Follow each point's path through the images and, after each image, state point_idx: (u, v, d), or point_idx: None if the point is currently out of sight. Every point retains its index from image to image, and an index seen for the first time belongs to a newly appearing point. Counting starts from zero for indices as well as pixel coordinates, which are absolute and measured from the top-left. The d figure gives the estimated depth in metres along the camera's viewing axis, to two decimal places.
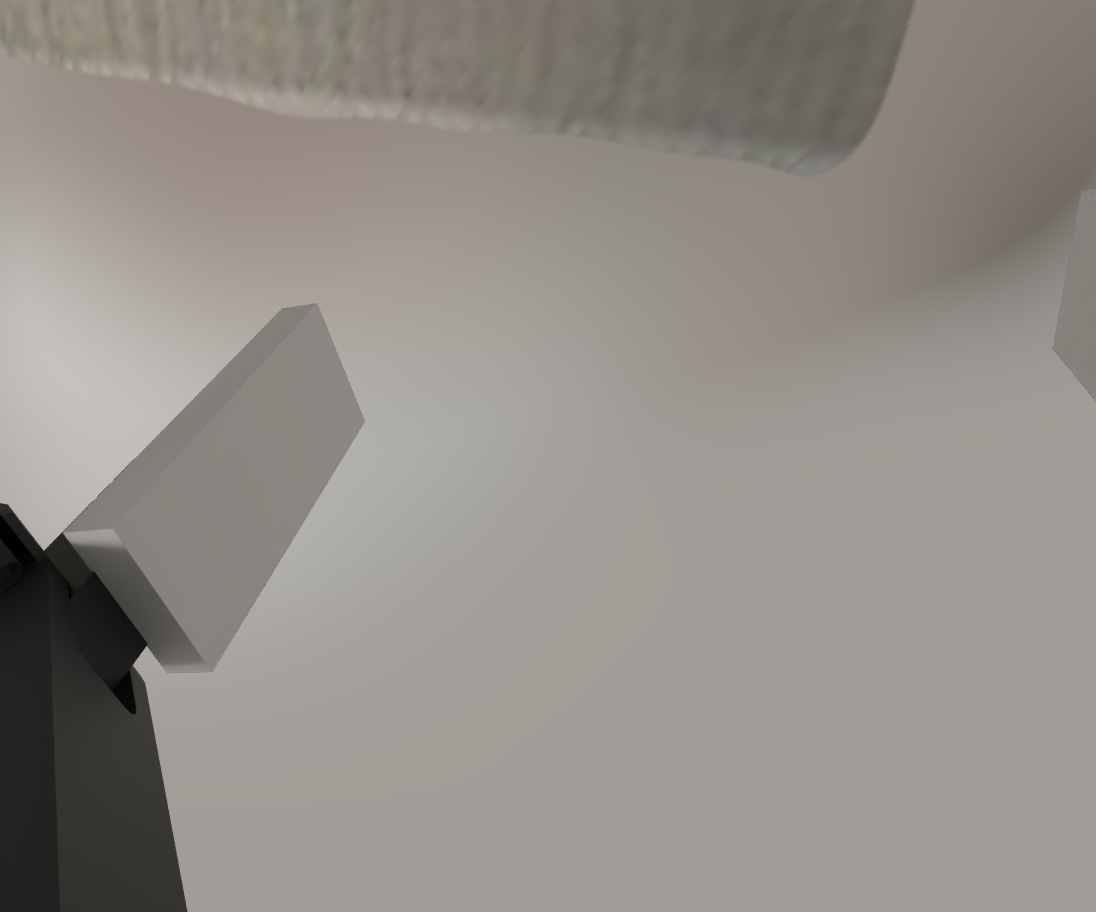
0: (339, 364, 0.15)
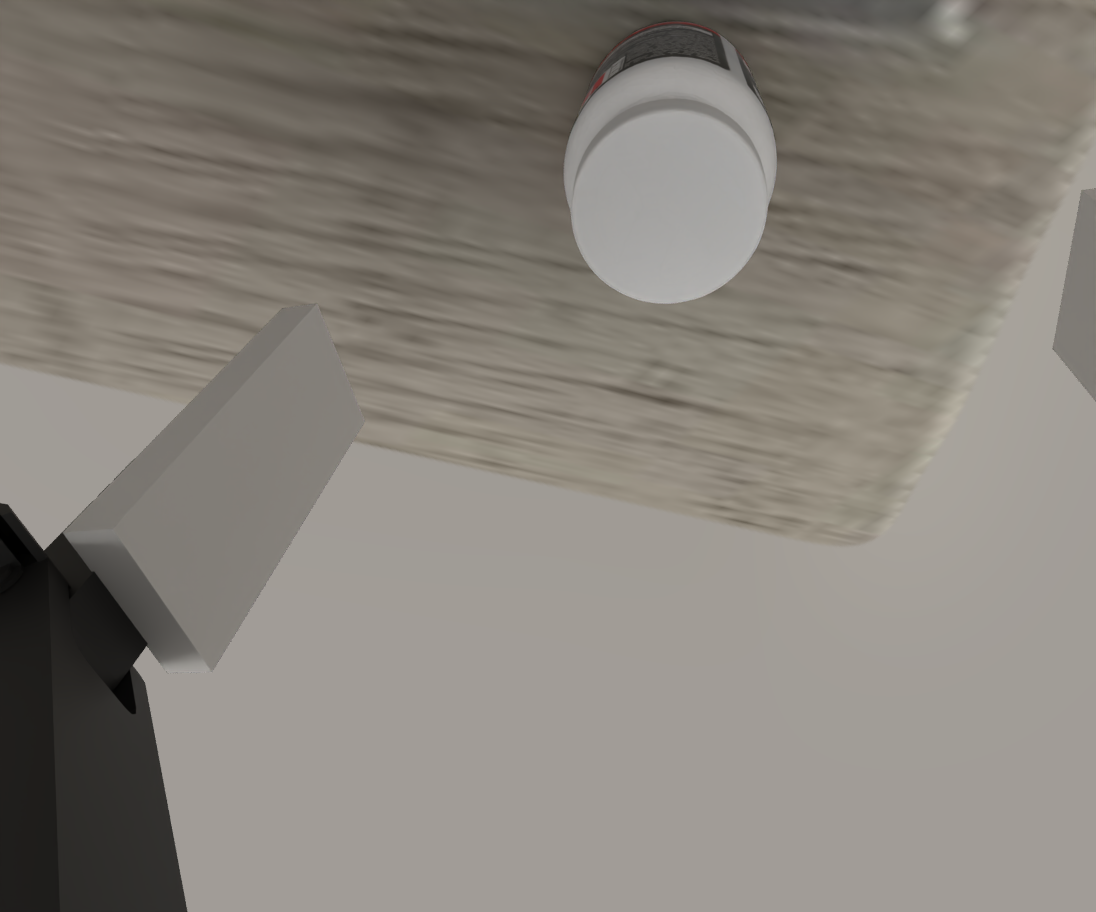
0: (339, 364, 0.15)
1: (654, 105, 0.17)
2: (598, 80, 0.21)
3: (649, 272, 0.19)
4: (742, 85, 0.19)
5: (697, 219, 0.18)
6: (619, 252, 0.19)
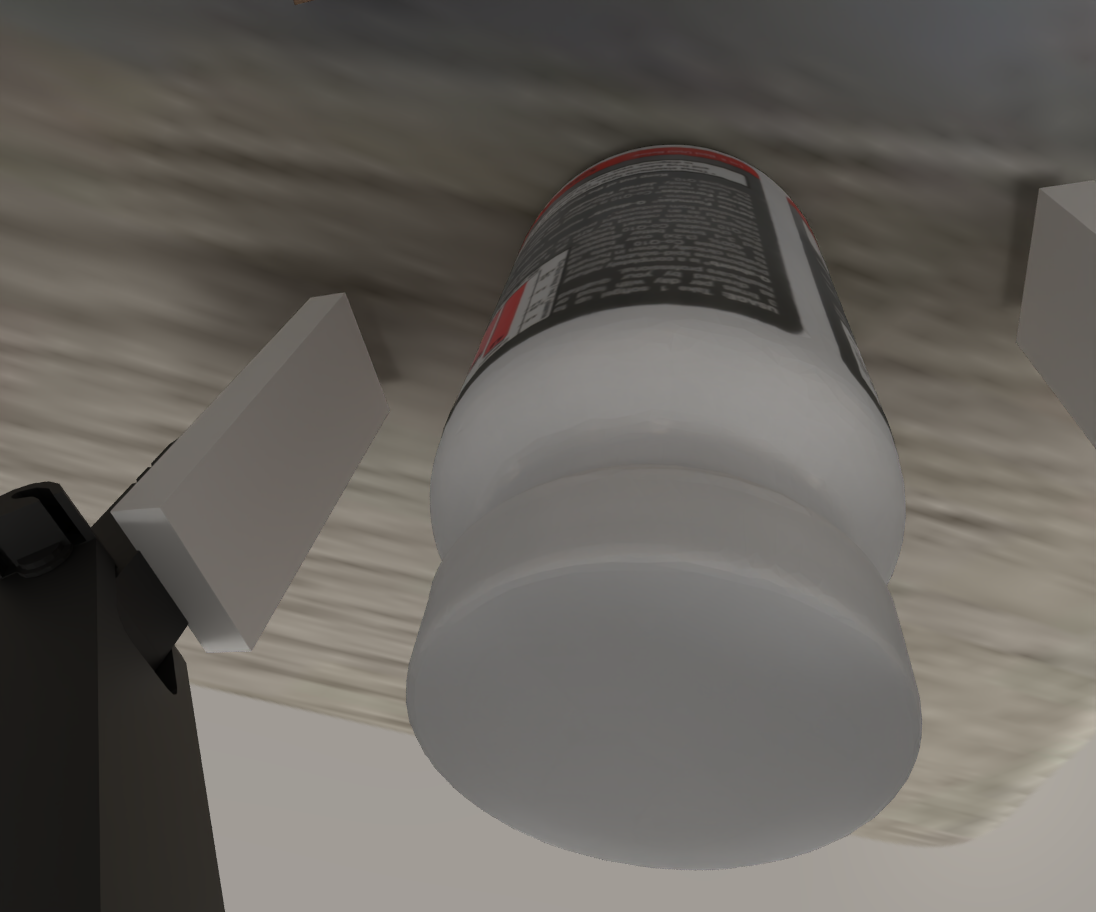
0: (365, 352, 0.15)
1: (612, 507, 0.06)
2: (511, 301, 0.10)
3: (609, 824, 0.08)
4: (836, 379, 0.08)
5: (728, 759, 0.07)
6: (534, 789, 0.08)
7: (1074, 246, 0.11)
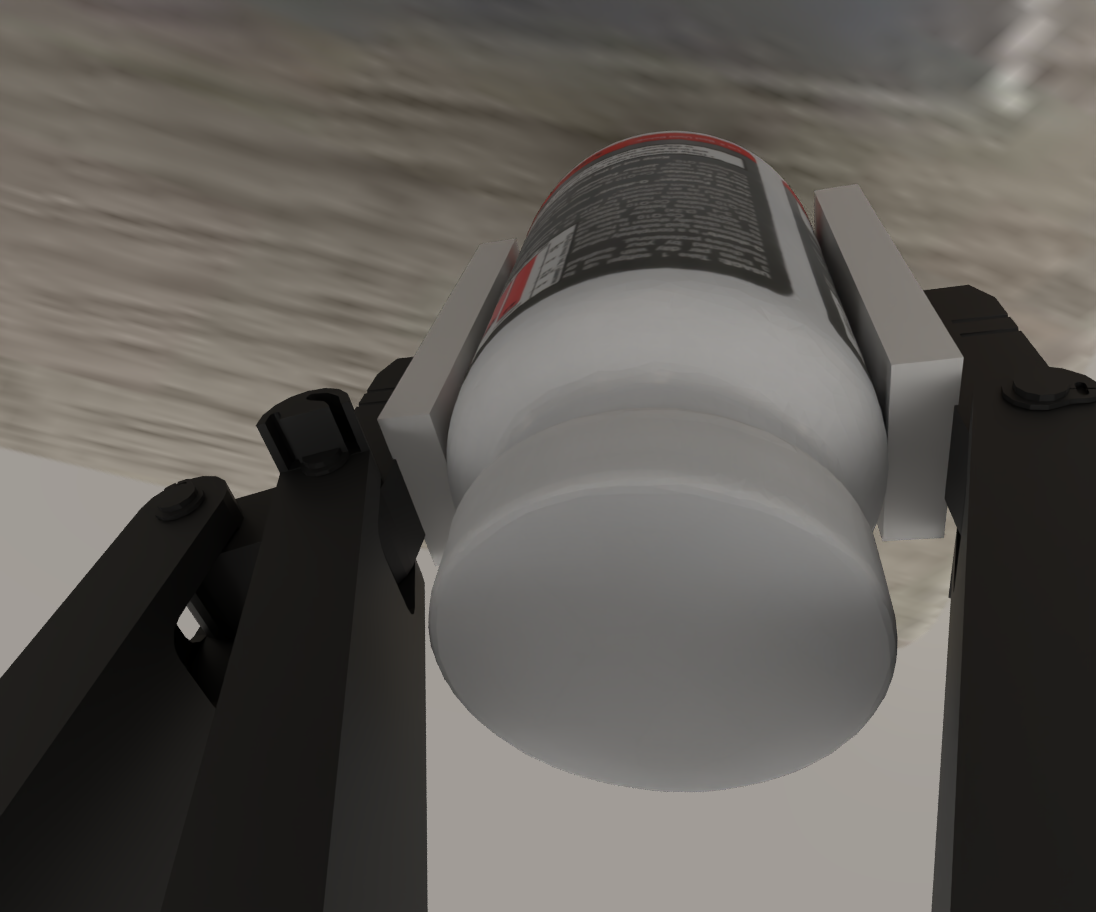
0: None
1: (617, 441, 0.07)
2: (522, 272, 0.11)
3: (613, 746, 0.09)
4: (823, 336, 0.08)
5: (723, 678, 0.08)
6: (545, 711, 0.08)
7: (826, 239, 0.13)
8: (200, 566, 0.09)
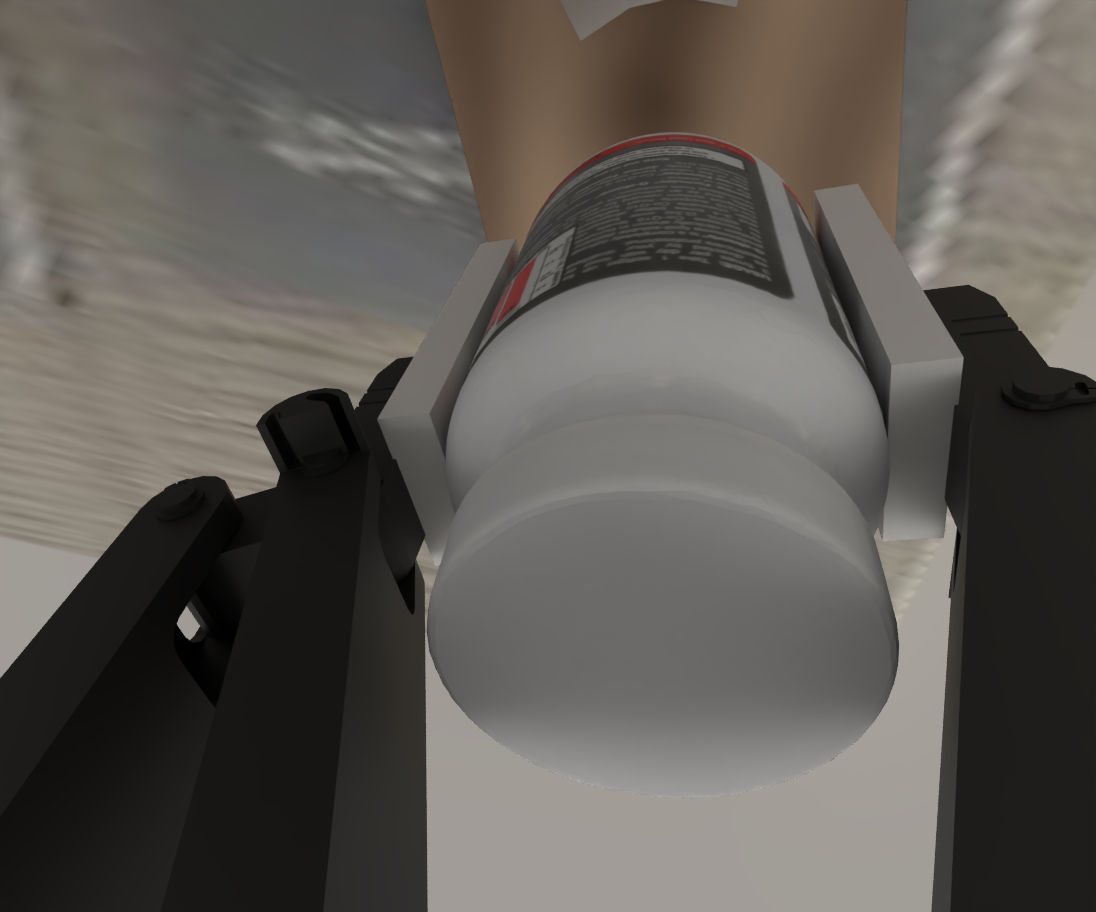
0: None
1: (617, 446, 0.07)
2: (521, 275, 0.11)
3: (613, 752, 0.08)
4: (824, 340, 0.08)
5: (723, 684, 0.08)
6: (544, 717, 0.08)
7: (826, 239, 0.13)
8: (200, 566, 0.09)
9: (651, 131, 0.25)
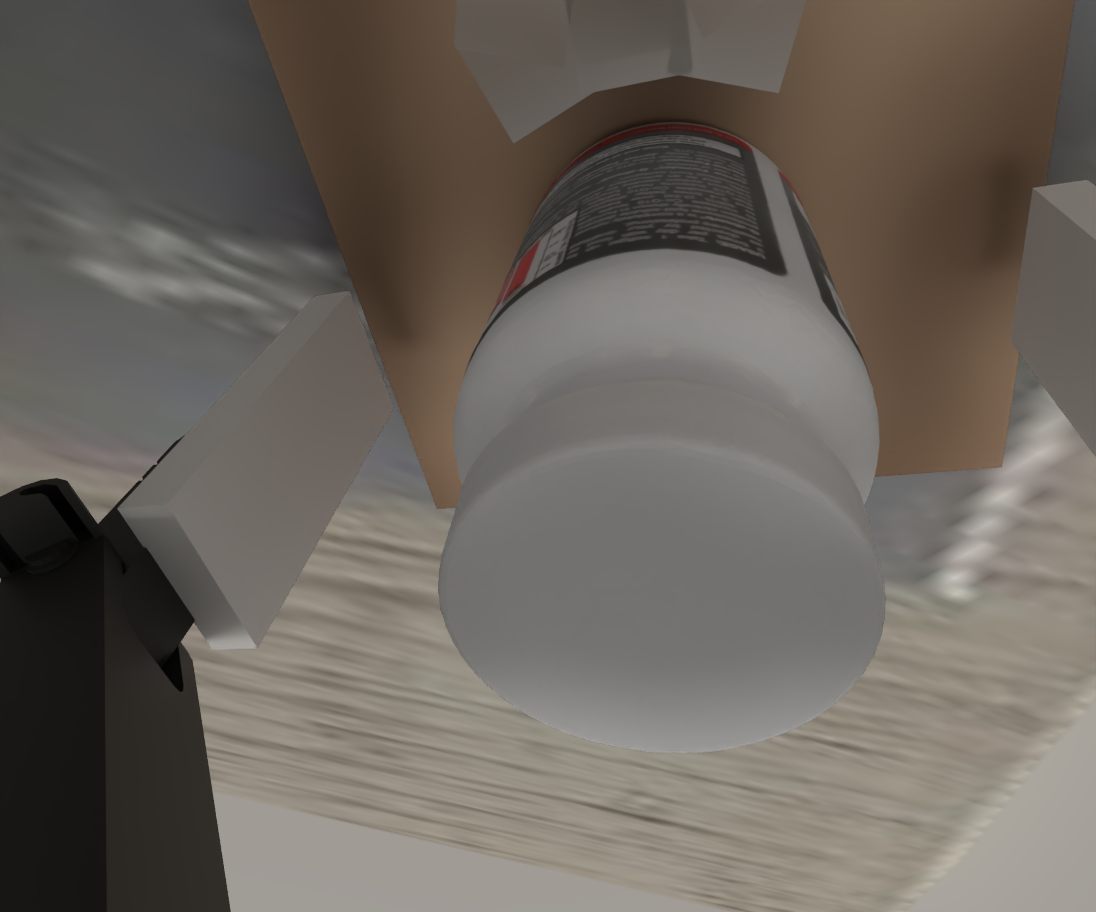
0: (370, 351, 0.15)
1: (619, 408, 0.07)
2: (526, 257, 0.11)
3: (615, 708, 0.09)
4: (816, 314, 0.09)
5: (719, 638, 0.08)
6: (549, 674, 0.09)
7: (1066, 245, 0.11)
8: None
9: None
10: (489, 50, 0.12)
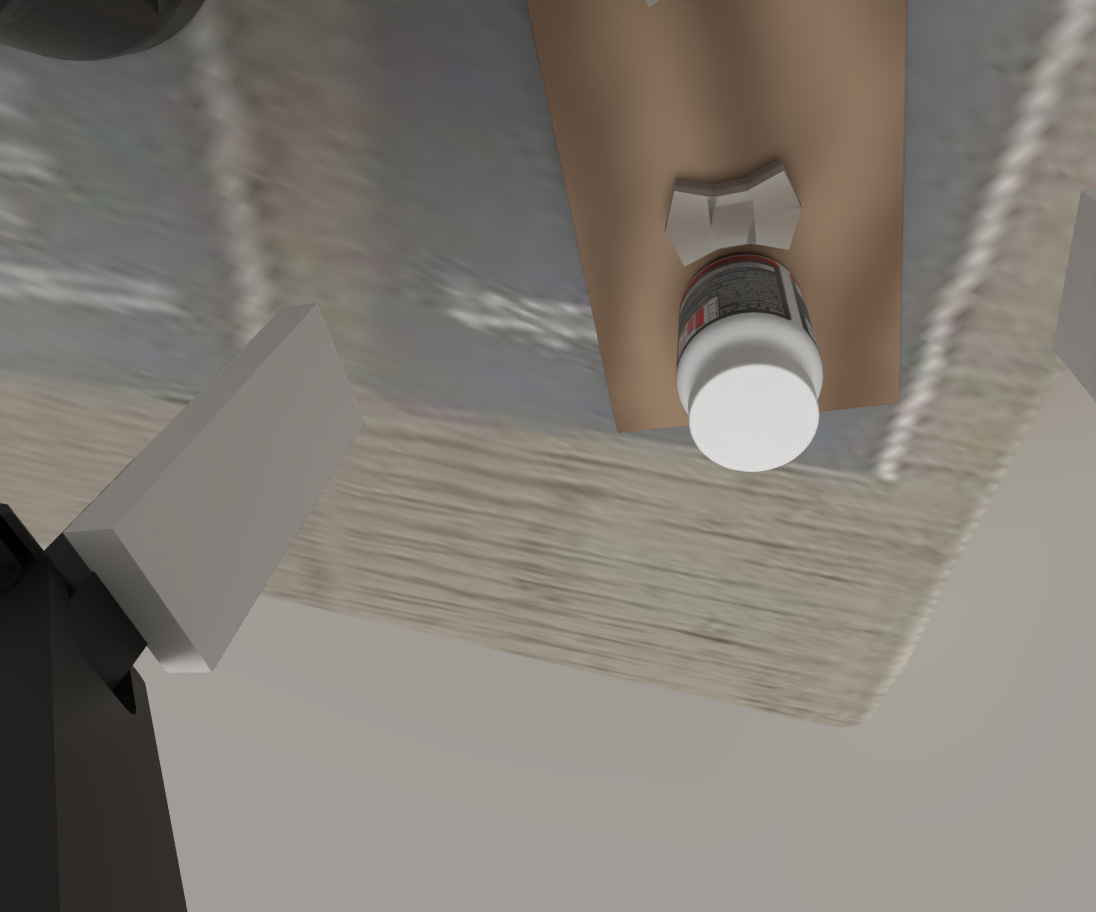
0: (339, 364, 0.15)
1: (746, 357, 0.27)
2: (699, 312, 0.31)
3: (739, 453, 0.29)
4: (800, 331, 0.29)
5: (772, 424, 0.28)
6: (720, 441, 0.29)
7: None
8: None
9: None
10: (678, 234, 0.32)
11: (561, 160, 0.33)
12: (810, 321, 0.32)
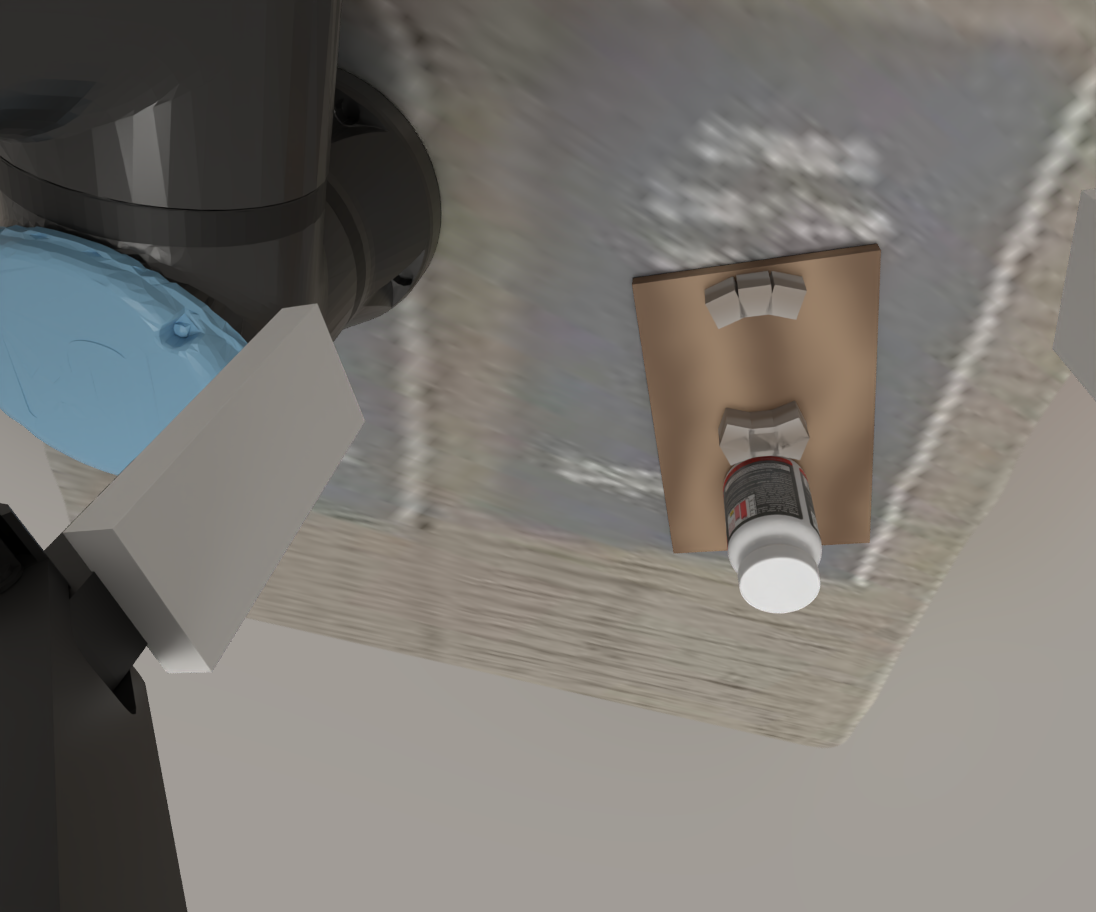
0: (339, 364, 0.15)
1: (776, 550, 0.44)
2: (742, 504, 0.48)
3: (770, 603, 0.46)
4: (808, 528, 0.46)
5: (791, 588, 0.45)
6: (758, 596, 0.46)
7: None
8: None
9: None
10: (728, 447, 0.49)
11: (649, 393, 0.50)
12: (813, 508, 0.49)
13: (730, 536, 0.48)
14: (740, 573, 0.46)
